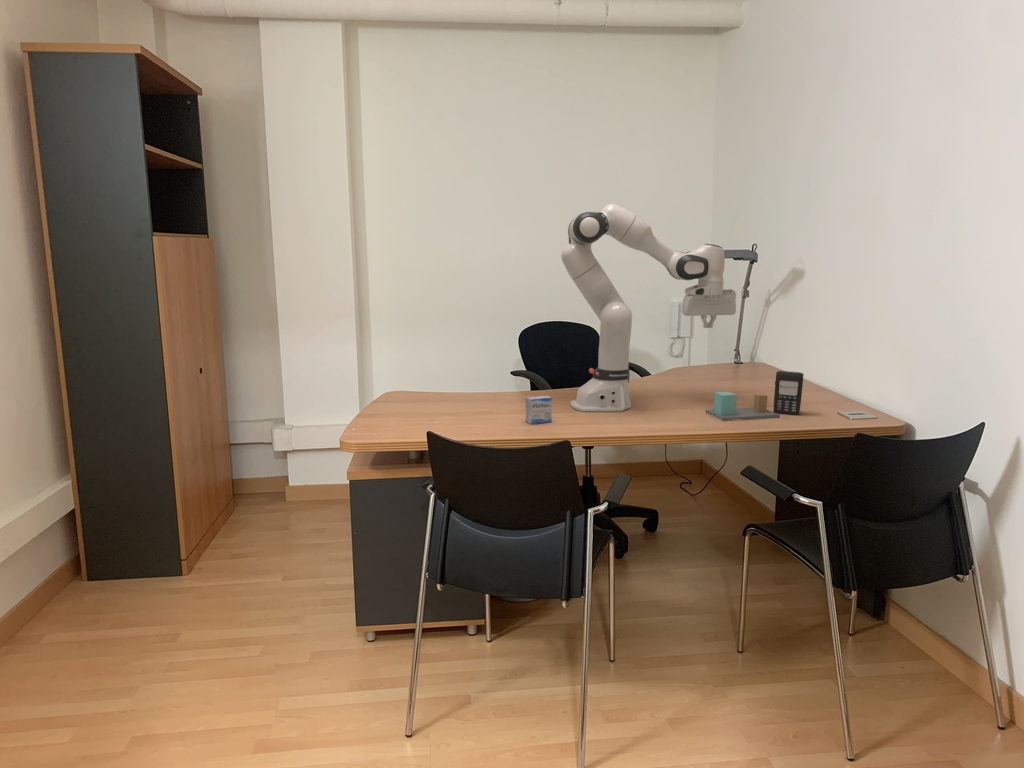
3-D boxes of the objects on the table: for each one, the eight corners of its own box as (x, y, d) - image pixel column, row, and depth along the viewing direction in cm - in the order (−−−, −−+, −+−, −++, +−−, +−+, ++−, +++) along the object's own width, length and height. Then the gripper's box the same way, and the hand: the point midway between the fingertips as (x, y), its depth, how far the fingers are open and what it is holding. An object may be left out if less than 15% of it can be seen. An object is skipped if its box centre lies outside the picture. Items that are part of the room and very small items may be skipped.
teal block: (720, 415, 250) (722, 395, 248) (713, 411, 255) (714, 392, 253) (735, 414, 251) (736, 394, 250) (726, 411, 256) (728, 391, 255)
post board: (722, 420, 247) (723, 400, 245) (705, 412, 258) (706, 393, 256) (779, 417, 252) (781, 398, 250) (760, 409, 263) (761, 390, 262)
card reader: (772, 413, 258) (775, 372, 255) (773, 410, 261) (776, 370, 258) (799, 415, 254) (803, 374, 251) (800, 413, 258) (803, 372, 255)
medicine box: (530, 424, 240) (531, 399, 238) (525, 421, 244) (525, 396, 242) (551, 422, 243) (552, 397, 242) (546, 419, 247) (546, 394, 246)
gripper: (731, 288, 266) (729, 325, 269) (680, 289, 261) (678, 327, 264) (740, 289, 260) (738, 327, 263) (688, 290, 255) (686, 329, 258)
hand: (708, 327), depth 264 cm, fingers closed
